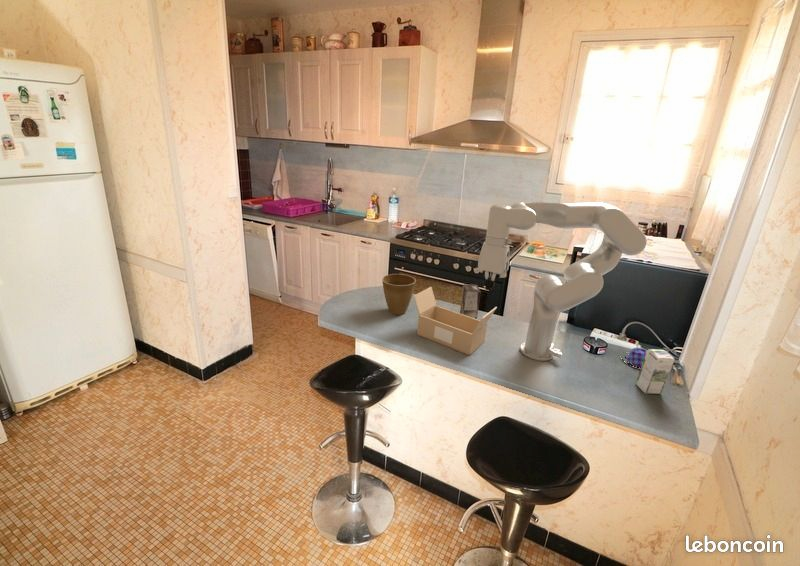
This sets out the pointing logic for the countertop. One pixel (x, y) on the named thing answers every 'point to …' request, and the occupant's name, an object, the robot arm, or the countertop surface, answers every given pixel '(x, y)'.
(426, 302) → the far flap
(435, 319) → the carton
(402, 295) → the plant pot
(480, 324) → the near flap
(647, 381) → the syrup box
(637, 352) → the purple plaid hat
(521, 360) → the countertop surface
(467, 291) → the coffee box
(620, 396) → the countertop surface
